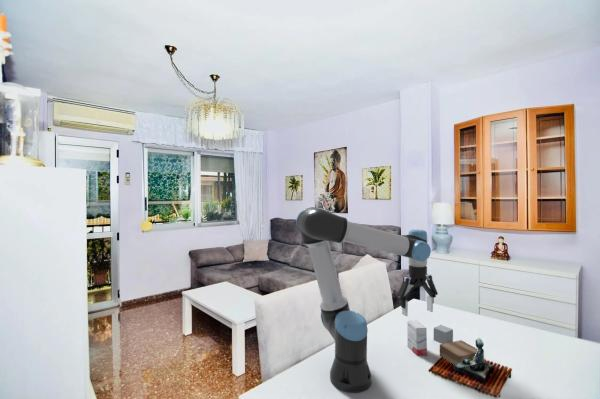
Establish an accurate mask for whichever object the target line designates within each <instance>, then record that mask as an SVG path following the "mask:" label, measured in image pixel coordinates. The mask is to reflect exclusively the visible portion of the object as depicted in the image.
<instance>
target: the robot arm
mask: <svg viewBox="0 0 600 399" xmlns="http://www.w3.org/2000/svg"><path fill="white" fill-rule="evenodd" d="M295 223H296V224H295V225H296V228H297V230H298V231H299V232H300V235H301V239H302V243H303V245H305V246H306V247H307V248H308V251H309V254H310V259H311V262H312V266H313V271H314V274H315V278H316V282H317V286H318V289H319V294H320V297H321V303H320V304H319V308H320V319H321V323H322V325H323V326H324V328H325V329H326V330H327V331H328V333H329V334H330V335H331V337H332V338H333V340H334V358H333V360H332V361H333V362H332V364H331V365H332V366H331V368H330V370H329V380H330V382H331V384H332V385H333V386H334V387H336V388H337V389H339V390H341V391H343V392H347V393H361V392H364V391H366V390H368V389H369V388H370V387H371V386H372V373H371V370H370V366H369V363H368V322H367V320H366V318H365V317H364V316H363V315H362V314H361V313H359V312H356V311H353V310H351V309H350V306H349V300H348V299H347V298H346V297H345V296H343V292H342V289H341V285H340V282H339V278H338V272H337V269H336V266H335V261H334V258H333V253H332V250H331V245H330V242H333V243H337V244H342V243H343V242H345V243H350V244H353V245H356V246H360V247H361V246H362V247H365V248H368V249H373V250H377V251H380V252H385V253H387V254H392V255H397V256H398V255H399V256H402V257H405V258H408V264H409V265H408V274H409V277H408V276H403V277H402V283H401V286H400V288H399V290H398V293H397V295H396V299H398V300H400V308H401V314H402V315H403V316H405V317H408V315H409V312H408V311H409V307H408V306H409V303H408V302H409V301H408V300H407V299H408V298H409V297H410V295H411V293H413V290H414V289H416V288H418V287H422V288H423V289H424V291H425V292H426V293H427V295H426V310H427V311H428V312H430V313H433V312H434V309H433V308H434V306H433V305H434V302H435V300H434V299H435V298H436V297H437V295H439V293H438V290H437V288H436V285H435V283H434V280H433V275H431V274H428V266H427V265H428V259H429V258H430V256H431V252H432V250H431V246H430V244H429V243H428V241H429V239H428V232H427V231H426V230H424V229H410V230H409V231H408V234H401V235H399V234H396V233H393V232H389V231H385V230H381V229H378V228H375V227H371V226H367V225H363V224H359V223H355V222H352V221H349V220H348V219H347V217H343V216H339V215H337V214H334V213H332V212H331V211H328V210H325V209H324V208H323V209H322V208H317V207H307V208H304V209H301V211H300V212H299V213H298V214H297V216H296V221H295Z"/></svg>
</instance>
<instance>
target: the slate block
mask: <svg viewBox="0 0 600 399" xmlns="http://www.w3.org/2000/svg"><path fill="white" fill-rule="evenodd" d="M433 341H434V342H437V343H439V344H445V343H450V342H454V329H453V328H451V327H448V326H446V325H443V324H439V325H437V326H435V327H433Z"/></svg>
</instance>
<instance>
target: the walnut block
mask: <svg viewBox="0 0 600 399" xmlns="http://www.w3.org/2000/svg"><path fill="white" fill-rule="evenodd" d="M477 350H479V349H478V348H476V347H474V346H473V345H470V344H469V343H467V342H466V341H463V340H462V339H460V340H455V341H453V342H450V343H445V344H441V343H439V357H440V358H442V357H443V358H444V359H443V358H442V359H443V360H445V359H446V360H447V361H446V360H445V361H446V362H448V361H449V362H450V363H449V362H448V363H449V364H451V363H452V364H453V365H452V364H451V365H452V366H454V364H456V363H461V362H462V361H463V360H464V359H471V358H473V357H474V356H475V354H476V352H477Z"/></svg>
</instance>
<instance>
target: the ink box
mask: <svg viewBox="0 0 600 399" xmlns="http://www.w3.org/2000/svg"><path fill="white" fill-rule="evenodd" d="M406 324H407V326H406V329H407V330H406V331H407V335H406V336H407V341H406V343H407V347H408V348H409V349H410V350H411V351H412V352H413V353H415V355H416V356H417V357H418V356H419V357H420V356H426V355H428V345H427V344H428V343H427V341H428V339H427V338H428V337H427V327H426V326H425V325H423V324H422V323H421V322H420V321H418V320H417V319H415V320H407V321H406Z"/></svg>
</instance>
